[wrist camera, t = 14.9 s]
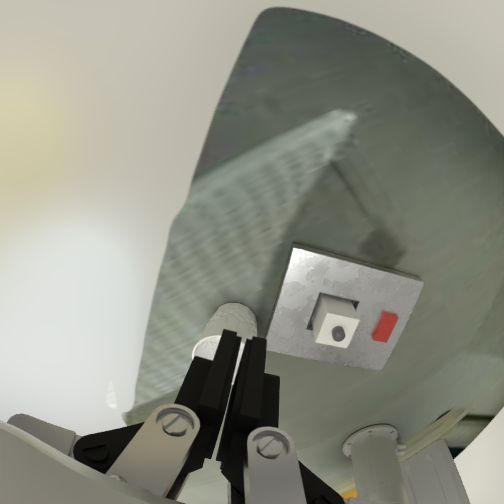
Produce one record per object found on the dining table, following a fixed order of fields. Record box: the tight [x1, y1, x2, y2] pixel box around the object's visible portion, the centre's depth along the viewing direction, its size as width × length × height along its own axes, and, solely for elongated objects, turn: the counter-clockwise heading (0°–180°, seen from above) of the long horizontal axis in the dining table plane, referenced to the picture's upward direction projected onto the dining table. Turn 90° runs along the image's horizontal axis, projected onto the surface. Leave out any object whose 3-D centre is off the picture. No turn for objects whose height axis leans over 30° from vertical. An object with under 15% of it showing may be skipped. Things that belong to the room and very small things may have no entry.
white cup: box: [192, 303, 257, 385], centre depth 38 cm, size 8×8×10 cm
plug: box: [311, 293, 360, 348], centre depth 37 cm, size 4×4×7 cm
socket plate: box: [264, 243, 424, 371], centre depth 40 cm, size 20×16×3 cm
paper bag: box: [400, 439, 470, 504], centre depth 38 cm, size 19×15×28 cm
